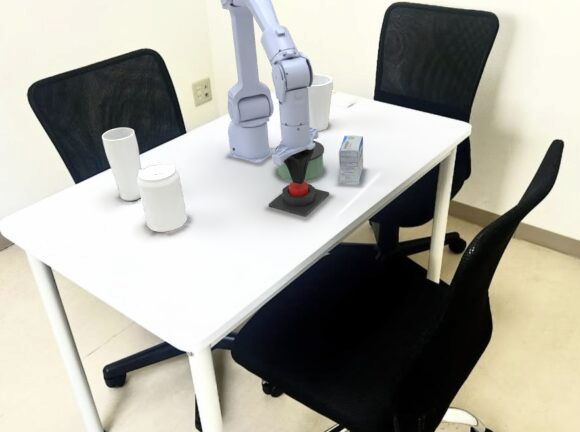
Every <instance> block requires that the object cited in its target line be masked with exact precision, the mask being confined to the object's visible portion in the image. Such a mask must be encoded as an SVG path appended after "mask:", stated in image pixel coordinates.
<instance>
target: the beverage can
mask: <svg viewBox="0 0 580 432" xmlns="http://www.w3.org/2000/svg"><path fill="white" fill-rule="evenodd" d="M137 184H138V188H139V192H140V197H141V198H140V201H141V204H142V205H141V206H142V208H143V213H144V218H145V222H146V226H147V227H148V228H149V229H150V230H151V231H154V232H158V233H159V232H160V233H165V232H171V231H175V230H177V229H179V228H181V227H182V226H184V225H185V224H186V223H187V220H188V214H187V213H188V212H187V208H186V202H185V198H184V197H185V196H184V192H183V188H182V181H181V176H180V172H179V170H177V168H176V166H175V165H173V164H172V163H169V162H156V163H151V164H147V165H145V166H144V167H141V170H140V171H139V172H138V178H137Z"/></svg>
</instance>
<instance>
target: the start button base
mask: <svg viewBox="0 0 580 432" xmlns="http://www.w3.org/2000/svg"><path fill="white" fill-rule="evenodd" d="M329 196H330V192H329V191H325V190H322V189H318V188H316V187H315V186H313V185H312V184H309V183H308V194H307V195H304V196H293V195H290V193H289V184H287V185H286V186H285V187H284V188H282V192H281V193H280V194H279V195H278V196H276V197H275V198H274V199H272V201H270V202H269V203H268V208H271V209H275V210H279V211H282V212H286V213H289V214H293V215H297V216H300V217H304V218H307V217H308V216H309V215H310V214H311V213H312V212H313V211H314V210H315V209H317V207H318V206H320V205H321V203H323V202H324V200H326V199H327V198H328V197H329Z"/></svg>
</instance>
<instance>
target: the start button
mask: <svg viewBox="0 0 580 432" xmlns="http://www.w3.org/2000/svg"><path fill="white" fill-rule="evenodd" d="M308 184H309V183H308V182H307V181H304V182H303V183H302V184H297V183H293V181H291V182H290V183H289V184H288V185H289V193H290V195H293V196H304V195H307V194H308Z"/></svg>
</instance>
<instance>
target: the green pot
mask: <svg viewBox="0 0 580 432" xmlns="http://www.w3.org/2000/svg"><path fill="white" fill-rule="evenodd" d="M283 162H284V161H283ZM276 167H277V174H278V175H279V177H281V178H283V179H284V180H287V181H291V182H293V181H292V178H291V176H290V173H289V170H288V168H287V166H286V164H285V163H284V164H283V165H281V166H280V165H276ZM323 172H324V154H323V155H322V156H320V157H319V158H317V159H315V160H312V161H309V163H308V166H307V171H306V176H305V180H304V181H305V182H307V181H311V180H313V179H316V178H318V177H319V176H321V175H322V174H323Z"/></svg>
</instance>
